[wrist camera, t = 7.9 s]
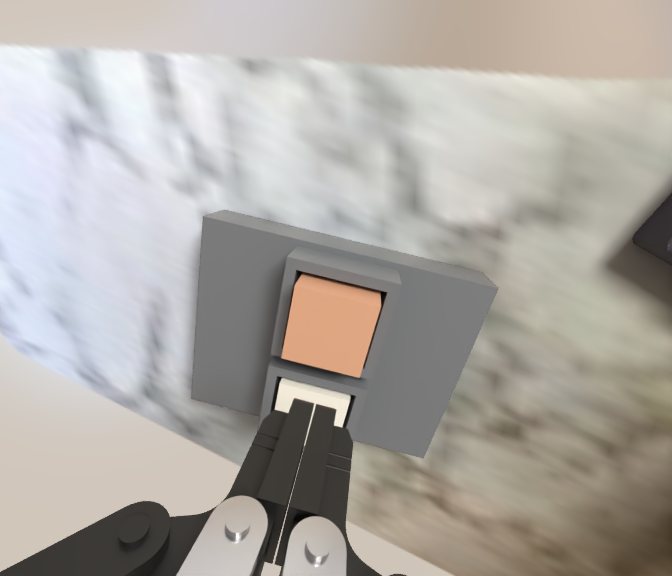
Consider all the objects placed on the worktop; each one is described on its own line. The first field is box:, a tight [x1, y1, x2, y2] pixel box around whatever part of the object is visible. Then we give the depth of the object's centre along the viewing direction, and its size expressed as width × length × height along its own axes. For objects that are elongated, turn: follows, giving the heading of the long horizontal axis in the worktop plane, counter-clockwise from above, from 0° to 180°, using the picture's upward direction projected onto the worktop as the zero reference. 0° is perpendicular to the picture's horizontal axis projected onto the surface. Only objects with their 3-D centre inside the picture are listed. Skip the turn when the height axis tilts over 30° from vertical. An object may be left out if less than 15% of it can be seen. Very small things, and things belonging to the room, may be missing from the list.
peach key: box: [281, 272, 381, 378], centre depth 18 cm, size 4×4×2 cm
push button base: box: [191, 210, 498, 458], centre depth 22 cm, size 18×14×6 cm
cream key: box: [275, 377, 351, 446], centre depth 22 cm, size 4×4×2 cm
